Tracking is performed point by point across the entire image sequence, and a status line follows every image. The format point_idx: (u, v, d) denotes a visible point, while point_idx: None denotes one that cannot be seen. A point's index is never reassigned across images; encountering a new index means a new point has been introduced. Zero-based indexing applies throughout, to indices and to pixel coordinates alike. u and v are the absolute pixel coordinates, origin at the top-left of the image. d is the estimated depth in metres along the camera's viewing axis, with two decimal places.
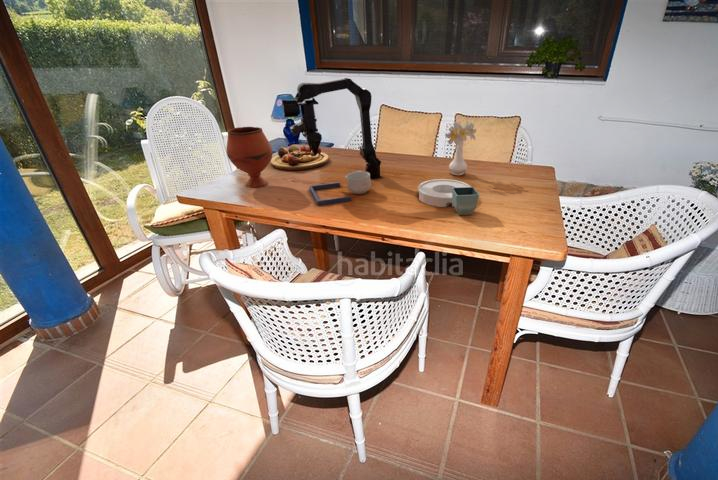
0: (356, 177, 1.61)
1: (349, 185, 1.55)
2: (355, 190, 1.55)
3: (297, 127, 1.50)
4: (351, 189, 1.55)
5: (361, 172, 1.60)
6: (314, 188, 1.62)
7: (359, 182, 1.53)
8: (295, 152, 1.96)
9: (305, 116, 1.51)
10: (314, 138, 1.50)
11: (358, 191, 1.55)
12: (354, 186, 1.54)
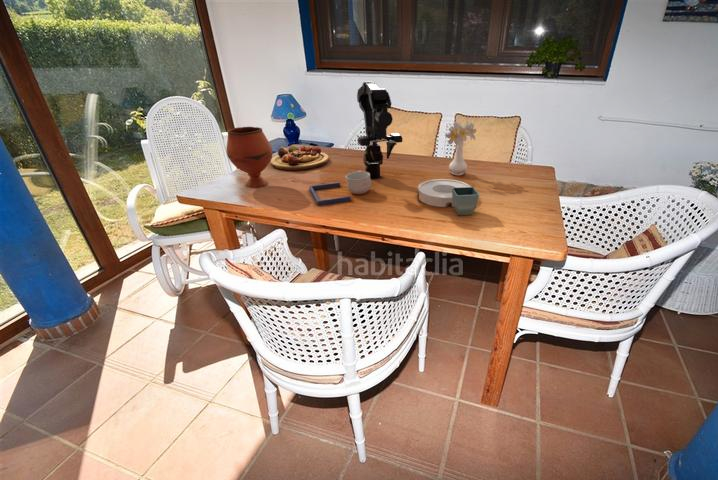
0: (356, 177, 1.61)
1: (349, 185, 1.55)
2: (355, 190, 1.55)
3: (366, 129, 1.55)
4: (351, 189, 1.55)
5: (361, 172, 1.60)
6: (314, 188, 1.62)
7: (359, 182, 1.53)
8: (295, 152, 1.96)
9: None
10: (359, 142, 1.51)
11: (358, 191, 1.55)
12: (354, 186, 1.54)
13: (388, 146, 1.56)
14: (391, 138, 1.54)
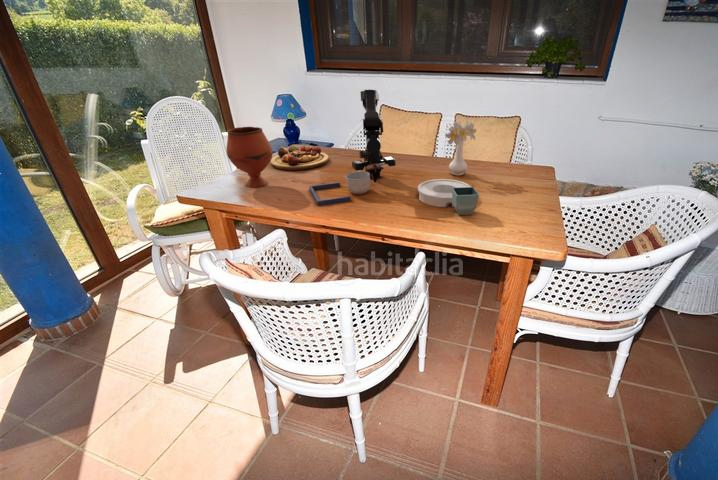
0: (356, 177, 1.61)
1: (349, 185, 1.55)
2: (355, 190, 1.55)
3: (360, 153, 1.59)
4: (351, 189, 1.55)
5: (361, 172, 1.60)
6: (314, 188, 1.62)
7: (359, 182, 1.53)
8: (295, 152, 1.96)
9: None
10: (353, 166, 1.55)
11: (358, 191, 1.55)
12: (354, 186, 1.54)
13: (375, 170, 1.59)
14: None
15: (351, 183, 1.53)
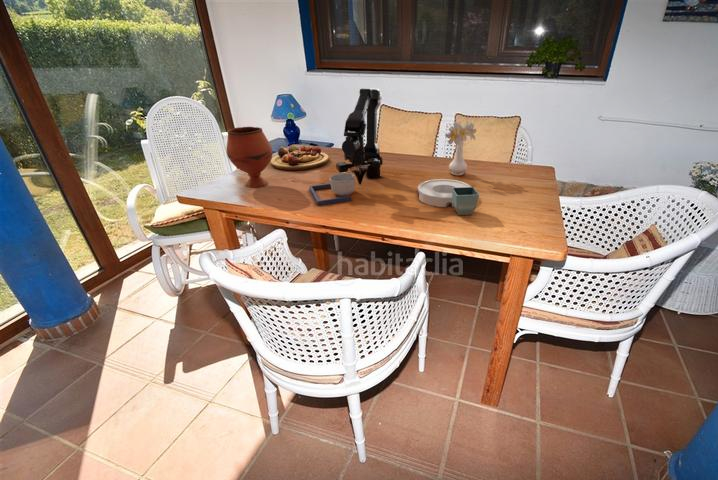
0: (341, 179, 1.59)
1: (333, 187, 1.53)
2: (339, 192, 1.53)
3: (344, 154, 1.57)
4: (335, 191, 1.53)
5: (346, 174, 1.58)
6: (314, 188, 1.62)
7: (342, 184, 1.50)
8: (295, 152, 1.96)
9: (361, 149, 1.50)
10: (337, 168, 1.53)
11: (342, 193, 1.53)
12: (338, 188, 1.52)
13: (360, 172, 1.57)
14: (369, 163, 1.56)
15: (335, 185, 1.51)
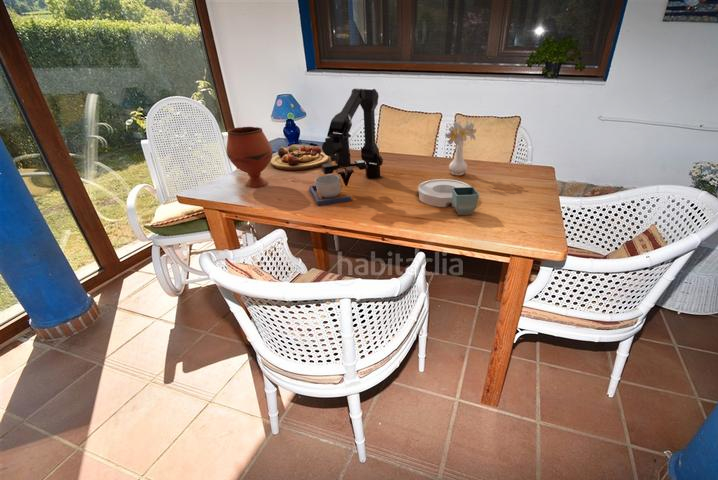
0: (327, 181, 1.57)
1: (318, 189, 1.51)
2: (324, 194, 1.51)
3: (330, 156, 1.55)
4: (320, 193, 1.51)
5: (332, 176, 1.56)
6: (314, 188, 1.62)
7: (327, 186, 1.49)
8: (295, 152, 1.96)
9: (345, 151, 1.47)
10: (322, 170, 1.51)
11: (327, 195, 1.51)
12: (323, 190, 1.50)
13: (346, 174, 1.55)
14: (355, 165, 1.54)
15: (320, 187, 1.49)
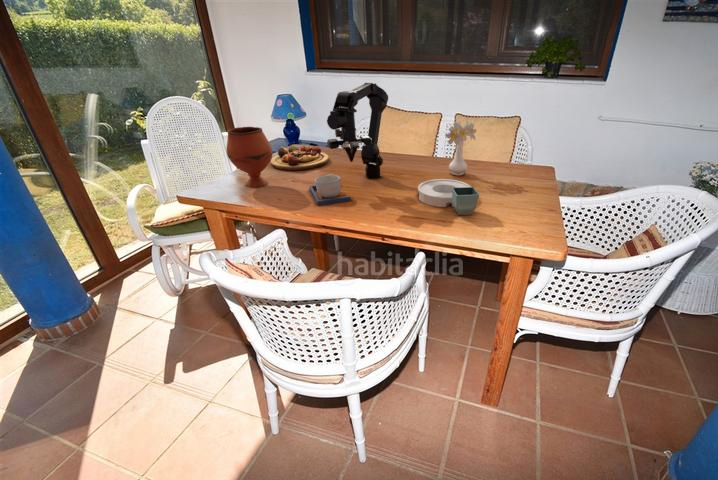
0: (327, 181, 1.57)
1: (318, 189, 1.51)
2: (324, 194, 1.51)
3: (335, 131, 1.56)
4: (320, 193, 1.51)
5: (332, 176, 1.56)
6: (314, 188, 1.62)
7: (327, 186, 1.48)
8: (295, 152, 1.96)
9: (350, 125, 1.49)
10: (328, 145, 1.52)
11: (327, 195, 1.51)
12: (323, 190, 1.50)
13: (351, 149, 1.56)
14: (361, 140, 1.56)
15: (320, 187, 1.49)
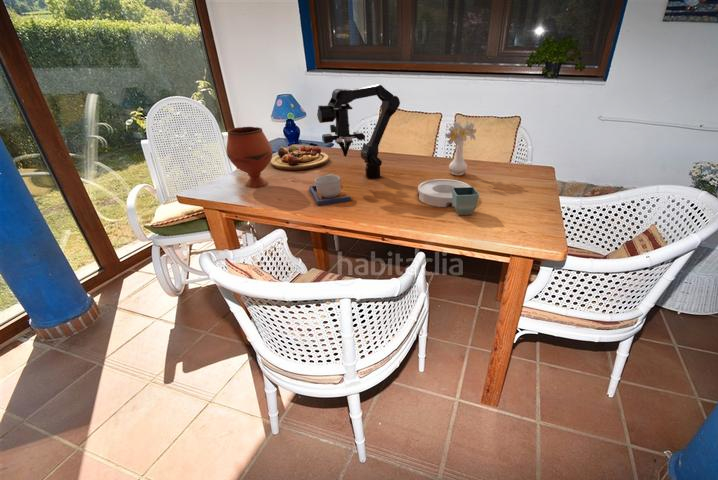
0: (327, 181, 1.57)
1: (318, 189, 1.51)
2: (324, 194, 1.51)
3: (330, 127, 1.63)
4: (320, 193, 1.51)
5: (332, 176, 1.56)
6: (314, 188, 1.62)
7: (327, 186, 1.48)
8: (295, 152, 1.96)
9: (340, 121, 1.55)
10: (323, 139, 1.59)
11: (327, 195, 1.51)
12: (323, 190, 1.50)
13: (345, 144, 1.63)
14: None
15: (320, 187, 1.49)
